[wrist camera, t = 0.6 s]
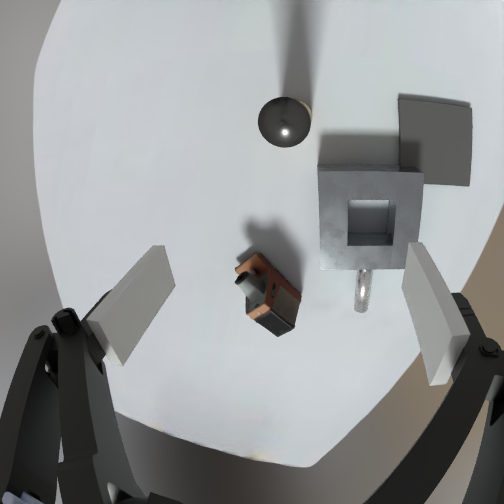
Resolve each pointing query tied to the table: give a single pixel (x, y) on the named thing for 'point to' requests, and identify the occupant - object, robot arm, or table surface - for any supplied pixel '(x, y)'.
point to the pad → (436, 141)
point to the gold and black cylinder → (285, 121)
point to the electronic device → (268, 295)
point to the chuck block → (367, 244)
